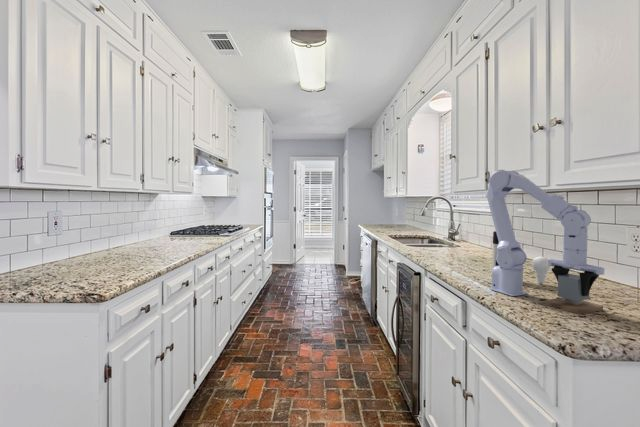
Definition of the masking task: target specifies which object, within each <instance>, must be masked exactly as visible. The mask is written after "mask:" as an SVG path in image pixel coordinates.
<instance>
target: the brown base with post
mask: <svg viewBox="0 0 640 427" xmlns="http://www.w3.org/2000/svg"><path fill="white" fill-rule="evenodd" d="M544 305H547V306H550V307H553V308H558V309H560V310H562V311H567V312H570V313H573V314H577V315H584V313H585V314H590V313H593V312H601V311H603V310H604V305H601V304H598V303H597V304H596V303H593V302H589V301H587V300H582V301H574V300H570V299H566V298H563V297H558V298H551V299H545V300H544ZM589 312H590V313H589Z"/></svg>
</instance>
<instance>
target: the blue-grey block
mask: <svg viewBox="0 0 640 427" xmlns="http://www.w3.org/2000/svg"><path fill="white" fill-rule="evenodd" d="M557 297H558V298H562V297H563V298H566V299H570V300H574V301H587V300H590V293H589V294H588V296H582V294H581V279H580V275H579V274H578V275H577V274H573V273H568V274H565V275H558V281H557Z"/></svg>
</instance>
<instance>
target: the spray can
mask: <svg viewBox="0 0 640 427" xmlns="http://www.w3.org/2000/svg"><path fill="white" fill-rule="evenodd" d="M492 233H493V234H492V259H491V260H492V261H491V263H492V265H491V271H492V270H493V268H494V267H495V266H500V265H499V264H498V263H497V260H496V256H497V250H496V248H497V246H498V244H499V241H498V237H497V233H496V230H494V231H493V232H492Z"/></svg>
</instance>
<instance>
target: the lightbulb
mask: <svg viewBox="0 0 640 427" xmlns="http://www.w3.org/2000/svg"><path fill="white" fill-rule="evenodd" d="M548 260H549V259H548V258H547V257H545V256H537V257H535V258H533V260H532V262H531V266H532V268H533V270H534V271H535V277H536V283H538V284H539V285H543V284H545V281H546V277H547V273H548V272H549V270H550V269H551V267H552V266H549V265H548Z"/></svg>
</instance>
